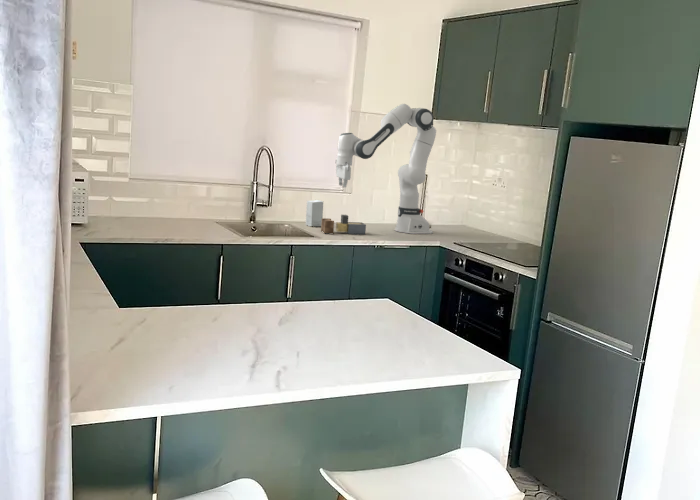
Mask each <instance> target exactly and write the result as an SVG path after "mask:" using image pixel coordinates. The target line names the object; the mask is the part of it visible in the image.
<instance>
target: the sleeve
mask: <svg viewBox="0 0 700 500" xmlns="http://www.w3.org/2000/svg"><path fill="white" fill-rule="evenodd" d="M348 223H361V224H348V232H345V233H346V234H347V235H357V234H359V235H360V236H361V235H363V236H364V235H366V232H367V230H366V228H367V224H365V223H363V222H355V221H352V222H351V221H348ZM359 235H358V236H359Z"/></svg>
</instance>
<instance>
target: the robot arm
mask: <svg viewBox="0 0 700 500" xmlns="http://www.w3.org/2000/svg"><path fill="white" fill-rule="evenodd" d="M406 124H408V126H411V127H412V128H416V131H417V133H416V136H415V138H414V140H413V143H412V147H411V149H410V151H409V161H408V163H407V164H404V165H401V166H400V167H399V168H398V170H397V176H398V183H399V206H398V207H397V208H398V209H397V220H396V221H397V222H396V225H395V227H394V231H396V232H400V233H406V234H409V235H410V234H411V235H412V234H414V235H415V234H417V235H420V234H422V235H423V234H425V235H426V234H431V235H432V234H433V230H432V229H430V223H429V221H428V220H427V219H426V218H425V217H424V216H423V215H422V214H423V213H424V212H425V211H424V210H423V209H422V208H421V209H420V208H419V201H420V193H419V189H418V185H421V184H423V183H424V181H425V180H426V177H427V174H426V170H427V163H428V160H429V158H430V157H429V156H430V155H431V151H432V150H433V149H432V148H433V145H434V143H435V140H436V136H437V129H436V127H435V126H434V114H433V112H432V111H431V110H429V109H428V108H423V107H418V108H417V107H415V108H411V107H410V105H409V104H406V103H401V104H399V105H397V106H396V107H395V108H392V109H391V110H390V111H388V112H387V113H386V114H385V115H384V116H383V117H382V118H381V120H380V128H379V130H378V131H377V132H375V133H374V134H373V135H372V136H371V137H370V138H368V139H364V140H363V139H361V138H359V137H357V136H356V135H355V134H354V133H352V132H345V133H344V132H343V133H341V134H340V135H339V137H338V140H337V142H338V143H337V154H336V159H335V164H336V165H335V175H336V177H337V178H338V186H340V187H341V186H342V187H343V188H347V184H348V181H350V180H351V179H352V177H351V175H352V167H351V166H353V156H355V157H357V158H360V159H363V160H368V159H370V158H372V157H373V156H374V154H375V152H376V151H377V149H378V147H379V146H381V145H382V144H383V143H384V142H385V141H386V140H387V139H388V138H389V137H390V136H392V135H393V134H394V133H396V132H397V131H399V129H401V128H402V127H403V126H404V125H406Z"/></svg>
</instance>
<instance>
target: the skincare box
mask: <svg viewBox="0 0 700 500" xmlns="http://www.w3.org/2000/svg"><path fill="white" fill-rule="evenodd" d="M305 212H306V214H305V226H307V225H308V227H310V226H315V227H321V223H322V218H324V217H323V216H324V215H323V214H324V201H322V200H319V199H315V200H306V211H305Z"/></svg>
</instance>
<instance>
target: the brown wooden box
mask: <svg viewBox="0 0 700 500" xmlns="http://www.w3.org/2000/svg"><path fill="white" fill-rule="evenodd" d="M334 226H335V220H332V218H325V217H323V218H322V223H321V226H320V232H322V231H323V232H324V233H333V234H334V228H335V227H334ZM323 232H322V233H323ZM324 233H323V234H324Z"/></svg>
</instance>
